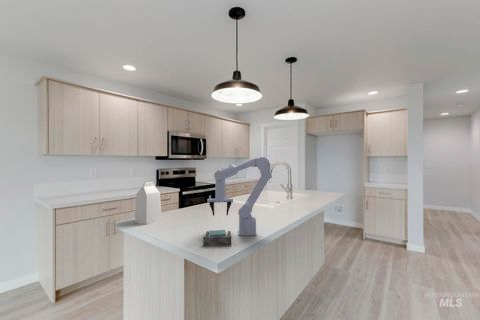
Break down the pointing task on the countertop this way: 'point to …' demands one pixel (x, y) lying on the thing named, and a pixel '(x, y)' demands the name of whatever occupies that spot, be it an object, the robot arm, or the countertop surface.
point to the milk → (148, 204)
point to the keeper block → (217, 233)
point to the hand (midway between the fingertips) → (220, 215)
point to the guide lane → (216, 240)
